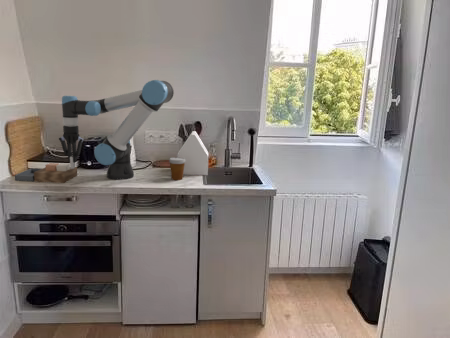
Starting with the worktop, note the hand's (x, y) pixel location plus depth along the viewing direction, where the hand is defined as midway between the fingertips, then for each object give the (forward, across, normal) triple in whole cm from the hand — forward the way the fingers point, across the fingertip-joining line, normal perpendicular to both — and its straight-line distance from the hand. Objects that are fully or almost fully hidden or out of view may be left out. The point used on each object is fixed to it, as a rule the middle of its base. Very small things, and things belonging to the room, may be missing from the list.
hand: (72, 168), depth 193 cm
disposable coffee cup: (+6, -56, -12) cm, 57 cm away
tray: (+7, +23, 0) cm, 24 cm away
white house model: (+6, -63, -31) cm, 70 cm away
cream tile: (+1, +5, 0) cm, 5 cm away
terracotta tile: (+2, +11, 0) cm, 11 cm away
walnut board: (+6, +9, 0) cm, 11 cm away
